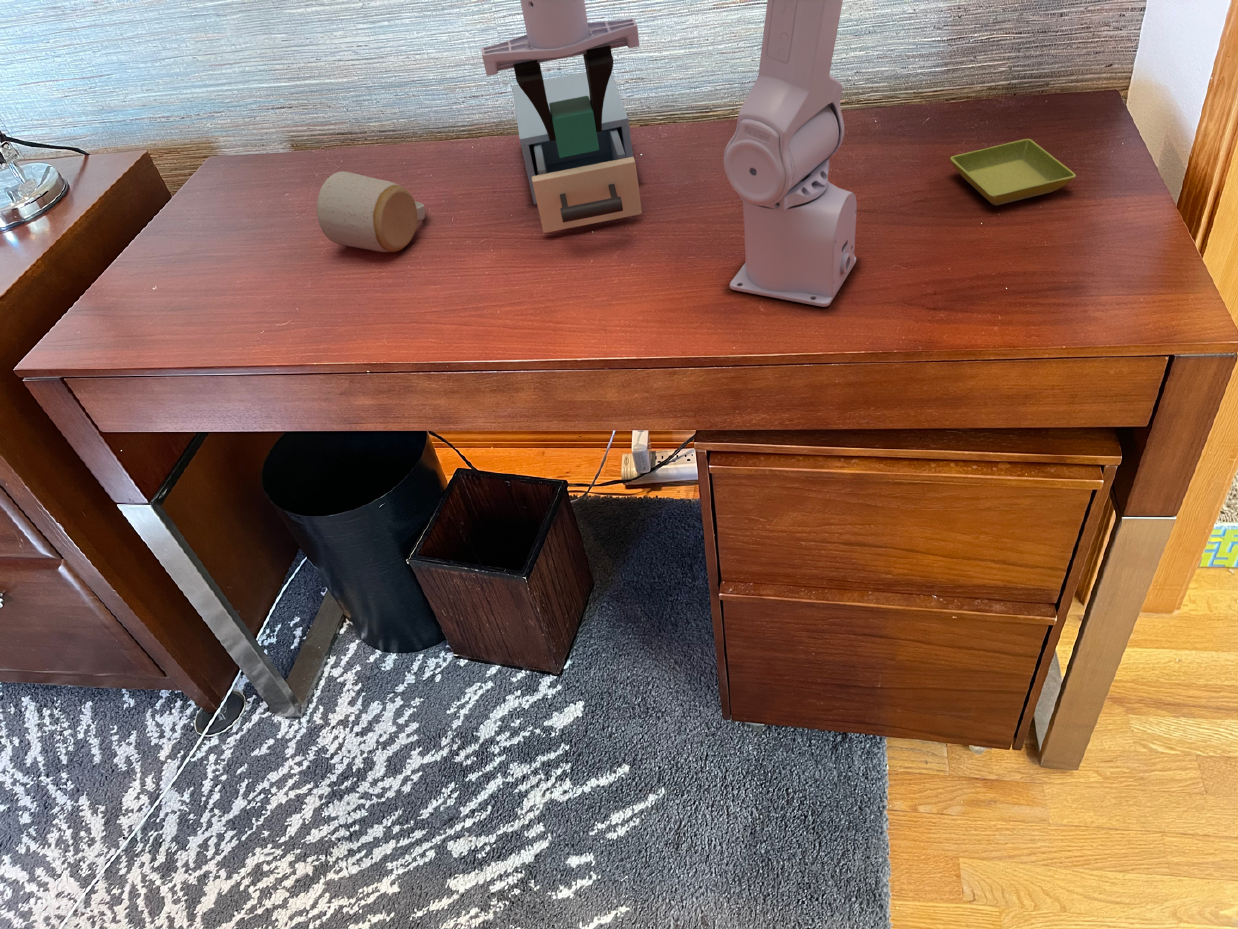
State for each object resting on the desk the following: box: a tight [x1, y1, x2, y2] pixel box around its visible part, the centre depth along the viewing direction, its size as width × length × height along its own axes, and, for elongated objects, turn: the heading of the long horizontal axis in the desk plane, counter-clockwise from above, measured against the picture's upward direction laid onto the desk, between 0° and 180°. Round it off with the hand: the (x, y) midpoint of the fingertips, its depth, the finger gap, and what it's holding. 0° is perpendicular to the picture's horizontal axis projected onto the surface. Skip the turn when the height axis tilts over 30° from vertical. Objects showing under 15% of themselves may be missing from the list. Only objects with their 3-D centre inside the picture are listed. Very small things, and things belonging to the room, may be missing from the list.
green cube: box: [549, 96, 599, 158], centre depth 89 cm, size 4×4×4 cm
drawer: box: [532, 128, 643, 234], centre depth 94 cm, size 18×10×6 cm, turn 8°
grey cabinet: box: [511, 71, 634, 205], centre depth 102 cm, size 15×12×8 cm
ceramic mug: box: [316, 170, 426, 253], centre depth 96 cm, size 11×8×8 cm
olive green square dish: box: [949, 138, 1077, 207], centre depth 88 cm, size 9×9×2 cm
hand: (575, 132), depth 89 cm, fingers closed on green cube, 4 cm apart
